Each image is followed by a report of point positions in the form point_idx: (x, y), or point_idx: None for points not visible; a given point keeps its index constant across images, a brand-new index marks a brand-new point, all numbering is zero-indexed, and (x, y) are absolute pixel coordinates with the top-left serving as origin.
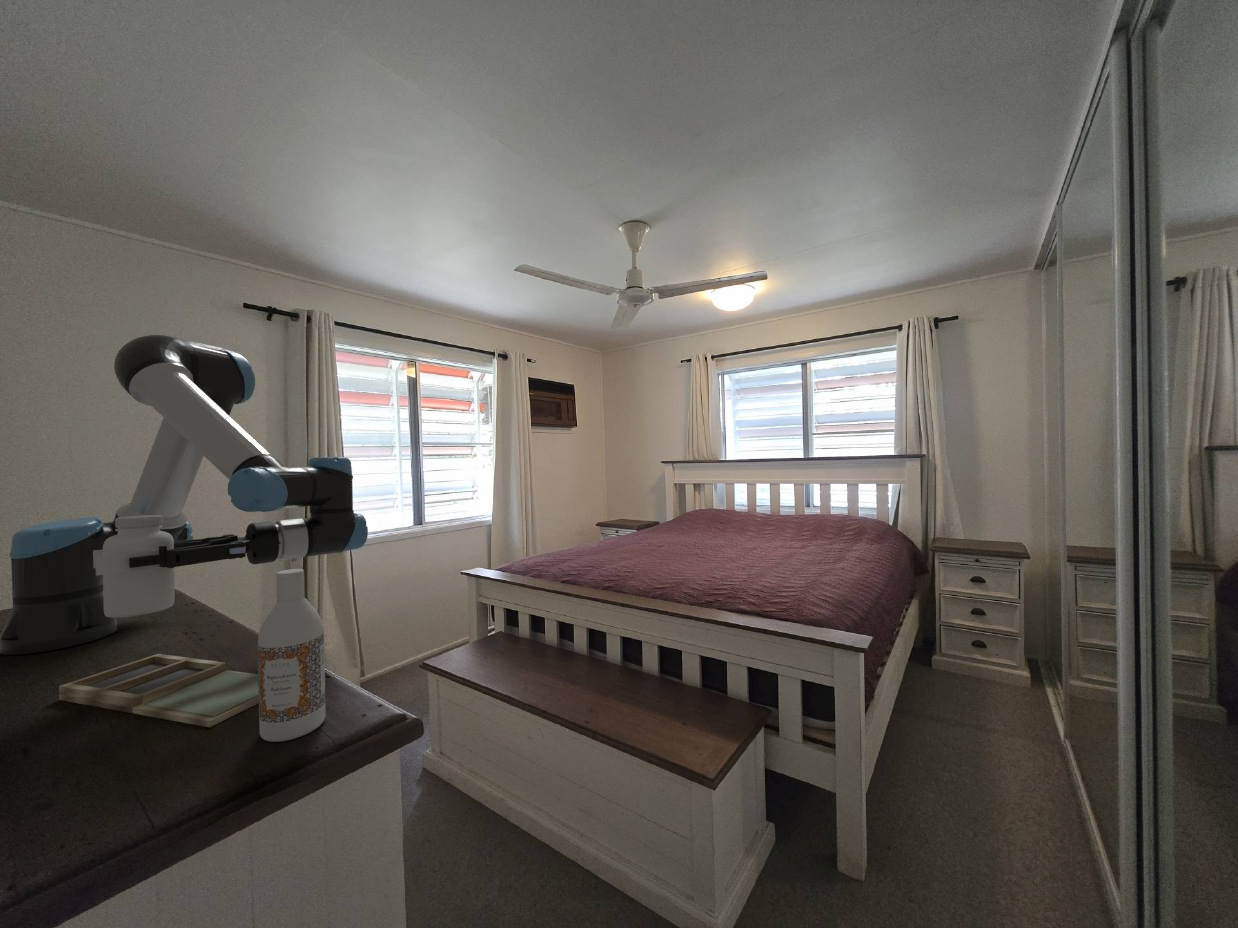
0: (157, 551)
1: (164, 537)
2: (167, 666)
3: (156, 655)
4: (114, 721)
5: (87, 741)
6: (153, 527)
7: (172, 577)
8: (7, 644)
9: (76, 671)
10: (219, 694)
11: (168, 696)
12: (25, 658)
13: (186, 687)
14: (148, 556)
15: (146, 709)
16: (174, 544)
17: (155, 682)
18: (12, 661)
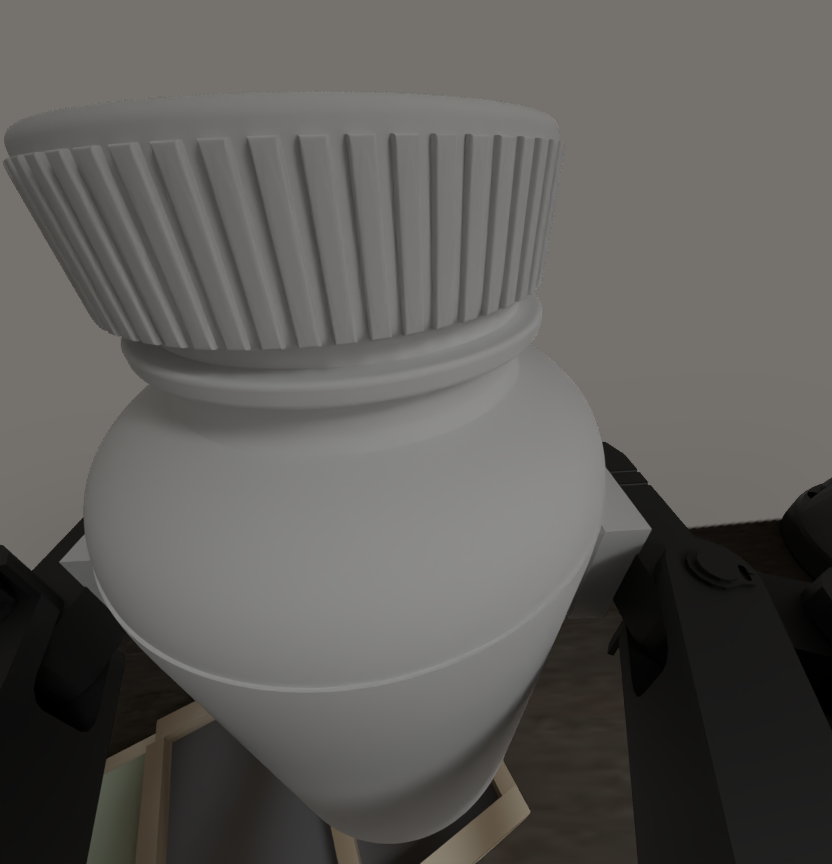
0: (73, 568)
1: (89, 539)
2: (343, 834)
3: (509, 804)
4: (171, 697)
5: (129, 657)
6: (123, 342)
7: (298, 795)
8: (797, 498)
9: (598, 620)
10: None
11: (118, 820)
12: (753, 538)
13: None
14: (69, 535)
15: (112, 758)
16: (702, 783)
17: (284, 791)
18: (736, 525)
